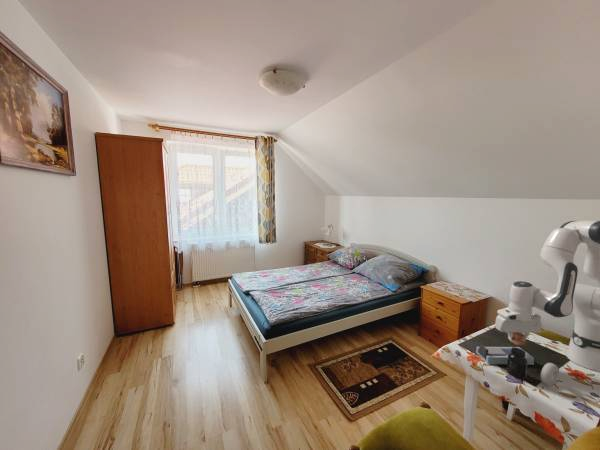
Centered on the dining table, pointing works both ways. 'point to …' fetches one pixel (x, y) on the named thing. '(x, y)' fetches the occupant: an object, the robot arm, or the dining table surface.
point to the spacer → (518, 338)
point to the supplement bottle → (517, 363)
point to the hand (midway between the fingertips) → (516, 339)
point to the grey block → (490, 351)
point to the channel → (503, 358)
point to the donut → (549, 374)
